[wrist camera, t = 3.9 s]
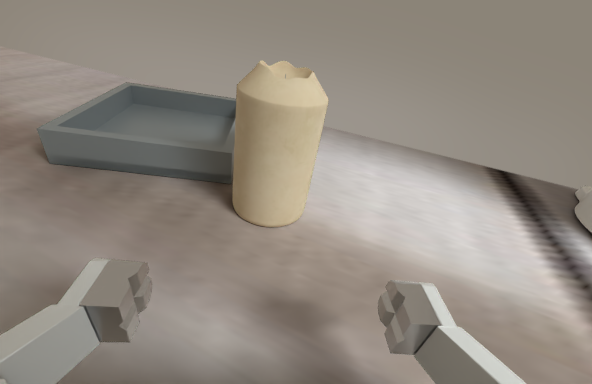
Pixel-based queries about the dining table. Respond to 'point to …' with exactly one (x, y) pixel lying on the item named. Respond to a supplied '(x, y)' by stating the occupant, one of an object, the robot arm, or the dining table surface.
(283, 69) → the candle
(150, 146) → the serving tray
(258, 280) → the dining table surface
